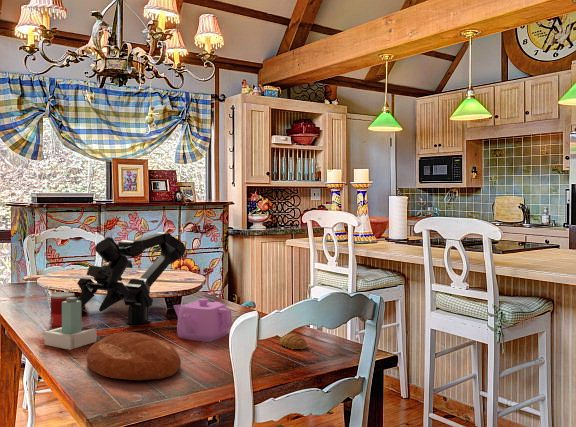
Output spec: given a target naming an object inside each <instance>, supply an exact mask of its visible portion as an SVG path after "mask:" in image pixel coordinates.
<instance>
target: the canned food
mask: <svg viewBox="0 0 576 427" xmlns="http://www.w3.org/2000/svg"><path fill="white" fill-rule="evenodd" d="M70 297H76V296H75V293H73V292H68V293H55V292H54V293H53V294H50V326H51V328H53V327H54V329H57V328H60V327H62V302H64V301H66V298H70Z"/></svg>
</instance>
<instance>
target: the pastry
mask: <svg viewBox="0 0 576 427" xmlns="http://www.w3.org/2000/svg"><path fill="white" fill-rule="evenodd" d="M278 341H279V343H280V345H281V346H283V347H284V346H286V347H289V348H293V349H301V350H303V349H306V348H307V346H308V343H307V342H306V340H305V339H304V337H302V336H301V335H299V334H297V333H292V332H290V333H289V334H288V335H286V336H284V337H281V336H280V338H279V340H278ZM286 347H285V348H286ZM289 348H288V349H289ZM293 349H292V350H293Z"/></svg>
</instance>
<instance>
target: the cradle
mask: <svg viewBox="0 0 576 427" xmlns="http://www.w3.org/2000/svg"><path fill="white" fill-rule="evenodd" d="M96 342H97V328H93V327H92V328H89V329H86V330H81V332H78V333H75V334H71V335H69V334H64V333H62V327H60V328H54V329H50V330H46V331H44V345H45V346H50V347H55V348H59V349H64V350H73V349H77V348H80V347H83V346H86V345H90V344H92V343H93V344H94V343H96Z"/></svg>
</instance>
